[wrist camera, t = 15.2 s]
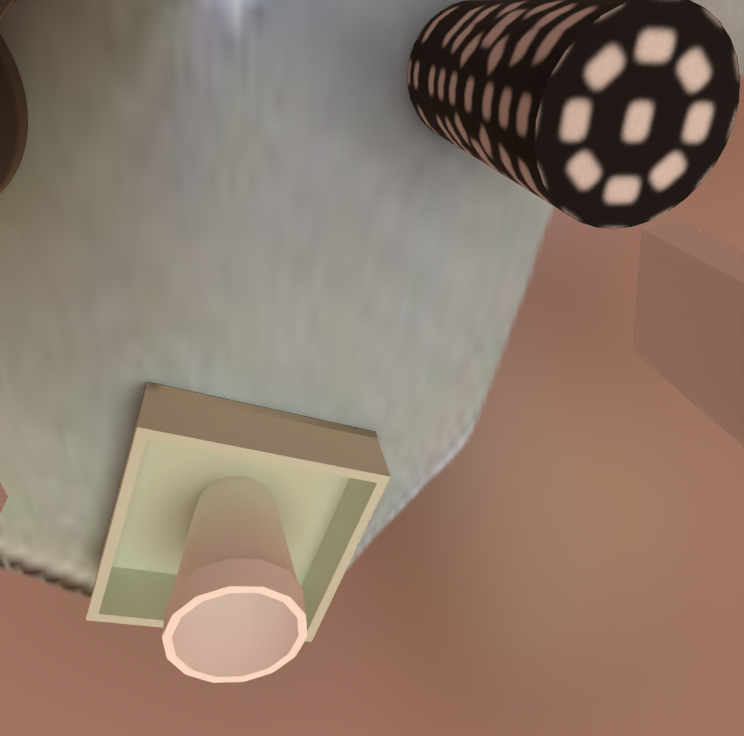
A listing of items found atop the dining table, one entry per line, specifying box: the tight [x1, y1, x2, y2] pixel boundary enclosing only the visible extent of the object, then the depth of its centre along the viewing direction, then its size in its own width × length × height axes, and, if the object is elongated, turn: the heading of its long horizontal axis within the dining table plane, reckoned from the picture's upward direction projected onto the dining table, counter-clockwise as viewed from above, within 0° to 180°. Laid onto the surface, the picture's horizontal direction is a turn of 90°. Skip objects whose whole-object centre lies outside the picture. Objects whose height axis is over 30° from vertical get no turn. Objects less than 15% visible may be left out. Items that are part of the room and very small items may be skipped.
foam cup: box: [162, 476, 307, 683], centre depth 48 cm, size 10×9×13 cm
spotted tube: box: [408, 0, 740, 229], centre depth 33 cm, size 8×8×20 cm
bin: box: [86, 382, 390, 642], centre depth 52 cm, size 19×19×6 cm
